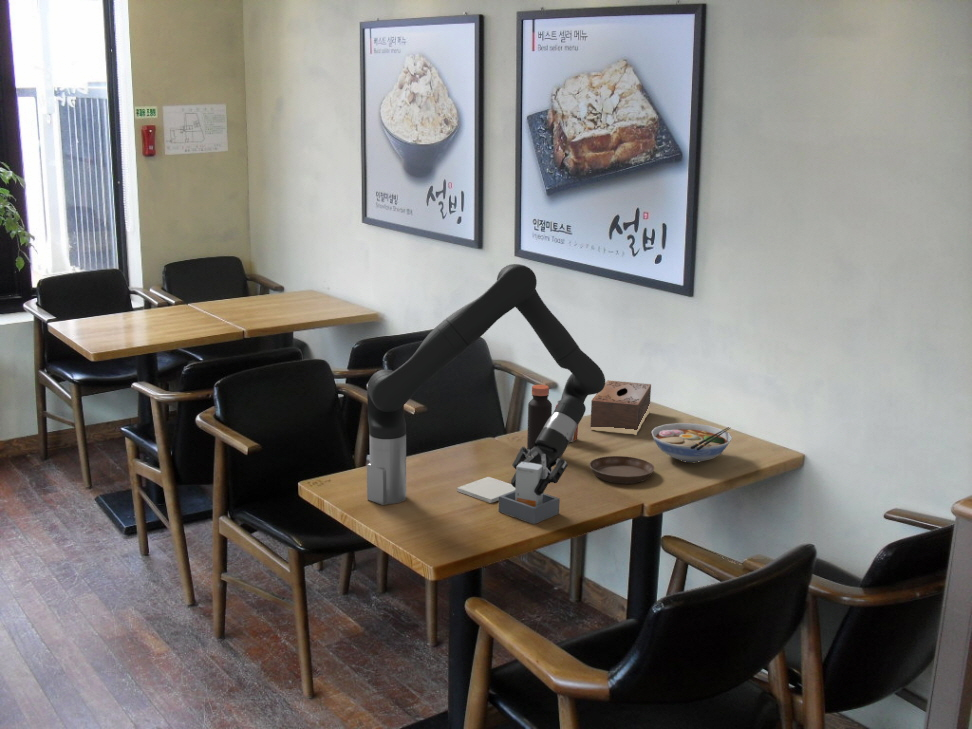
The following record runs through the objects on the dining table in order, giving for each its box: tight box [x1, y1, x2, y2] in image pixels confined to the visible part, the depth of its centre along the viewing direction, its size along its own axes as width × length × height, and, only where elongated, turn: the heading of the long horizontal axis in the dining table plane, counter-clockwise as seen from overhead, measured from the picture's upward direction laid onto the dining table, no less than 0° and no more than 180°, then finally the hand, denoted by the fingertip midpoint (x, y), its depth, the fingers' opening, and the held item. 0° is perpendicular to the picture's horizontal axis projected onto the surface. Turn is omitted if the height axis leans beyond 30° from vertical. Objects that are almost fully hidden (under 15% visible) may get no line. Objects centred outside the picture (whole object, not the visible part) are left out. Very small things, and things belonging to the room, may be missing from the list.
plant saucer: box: [588, 455, 655, 484], centre depth 297 cm, size 18×18×3 cm
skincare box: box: [515, 462, 544, 507], centre depth 268 cm, size 6×4×12 cm
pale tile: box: [456, 476, 515, 504], centre depth 283 cm, size 12×12×1 cm
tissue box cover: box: [590, 380, 652, 430], centre depth 345 cm, size 26×14×10 cm, turn 163°
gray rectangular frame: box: [498, 490, 560, 525], centre depth 269 cm, size 10×12×4 cm
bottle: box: [526, 384, 553, 450], centre depth 312 cm, size 7×7×20 cm
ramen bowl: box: [650, 422, 733, 463], centre depth 310 cm, size 25×23×8 cm
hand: (525, 489), depth 267 cm, fingers closed on skincare box, 7 cm apart
